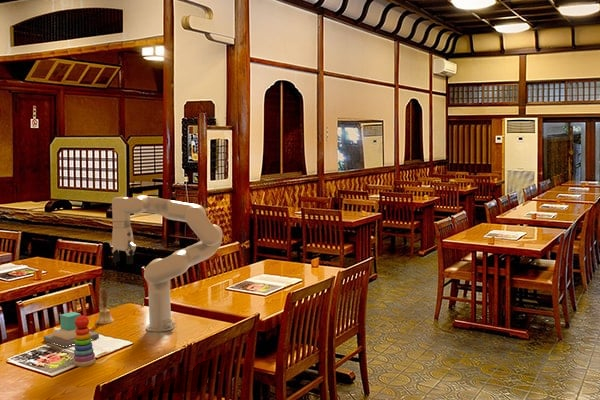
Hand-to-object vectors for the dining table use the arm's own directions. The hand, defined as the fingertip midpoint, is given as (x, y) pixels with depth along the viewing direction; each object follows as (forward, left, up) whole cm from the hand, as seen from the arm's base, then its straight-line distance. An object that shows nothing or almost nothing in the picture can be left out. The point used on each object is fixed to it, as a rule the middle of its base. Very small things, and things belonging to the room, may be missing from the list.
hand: (123, 262), depth 274 cm
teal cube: (+7, +23, -25) cm, 35 cm away
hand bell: (+18, -2, -31) cm, 36 cm away
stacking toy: (-24, +37, -31) cm, 54 cm away
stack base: (+7, +23, -30) cm, 39 cm away
